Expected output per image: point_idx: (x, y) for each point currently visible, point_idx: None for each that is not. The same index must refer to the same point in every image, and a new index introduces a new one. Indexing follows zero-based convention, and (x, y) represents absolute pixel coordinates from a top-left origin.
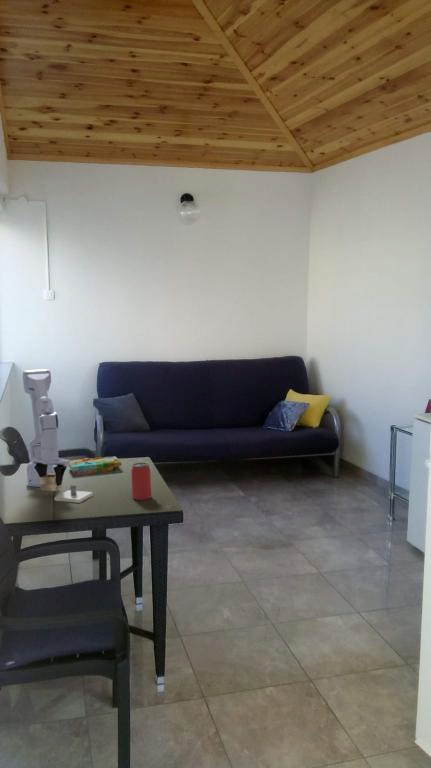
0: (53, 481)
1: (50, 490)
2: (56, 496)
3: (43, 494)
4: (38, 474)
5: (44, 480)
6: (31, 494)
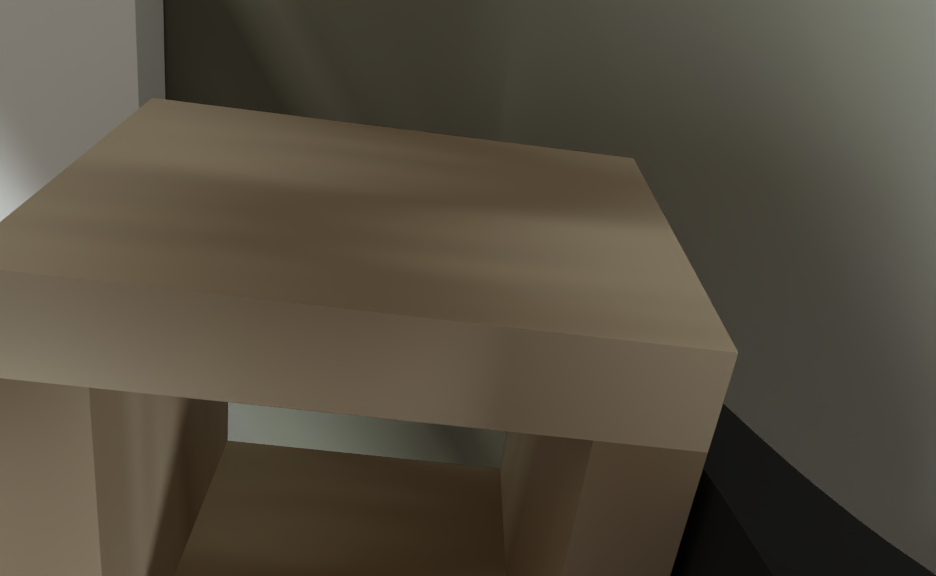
0: (29, 207)
1: (291, 119)
2: (126, 36)
3: None
4: (909, 558)
5: (496, 274)
6: (926, 322)
